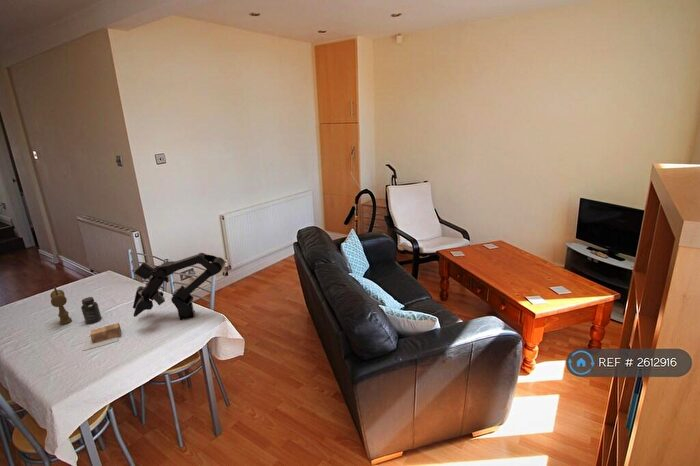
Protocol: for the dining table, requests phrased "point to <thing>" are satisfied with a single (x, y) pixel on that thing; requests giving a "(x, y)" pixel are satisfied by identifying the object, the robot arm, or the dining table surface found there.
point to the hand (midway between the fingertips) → (134, 312)
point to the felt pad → (90, 344)
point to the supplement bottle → (90, 310)
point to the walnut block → (105, 333)
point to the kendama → (60, 305)
